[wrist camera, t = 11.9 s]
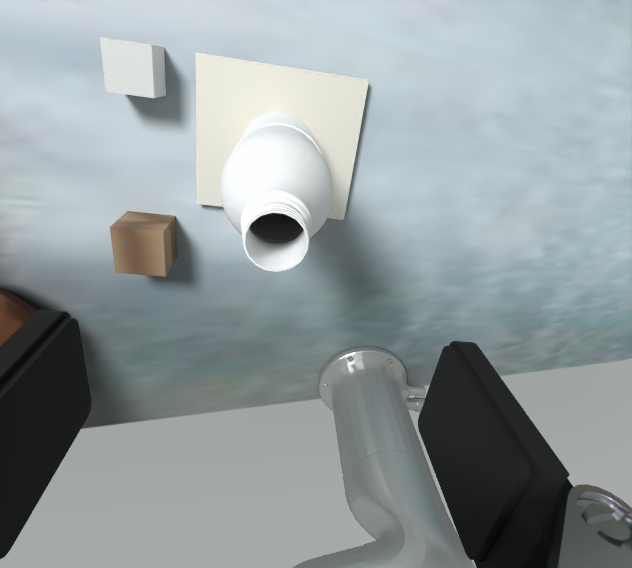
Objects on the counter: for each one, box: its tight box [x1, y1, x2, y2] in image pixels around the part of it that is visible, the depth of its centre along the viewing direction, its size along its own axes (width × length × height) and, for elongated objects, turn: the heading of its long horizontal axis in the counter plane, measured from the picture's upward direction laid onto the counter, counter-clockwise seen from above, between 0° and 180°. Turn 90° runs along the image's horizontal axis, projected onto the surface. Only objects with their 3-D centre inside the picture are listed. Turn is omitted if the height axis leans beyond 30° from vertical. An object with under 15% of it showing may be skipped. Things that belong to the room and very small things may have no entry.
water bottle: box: [220, 112, 334, 272], centre depth 28 cm, size 7×7×25 cm
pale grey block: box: [100, 37, 166, 98], centre depth 34 cm, size 4×4×4 cm
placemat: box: [196, 53, 369, 220], centre depth 40 cm, size 16×14×1 cm
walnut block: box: [110, 211, 177, 277], centre depth 42 cm, size 5×5×5 cm
